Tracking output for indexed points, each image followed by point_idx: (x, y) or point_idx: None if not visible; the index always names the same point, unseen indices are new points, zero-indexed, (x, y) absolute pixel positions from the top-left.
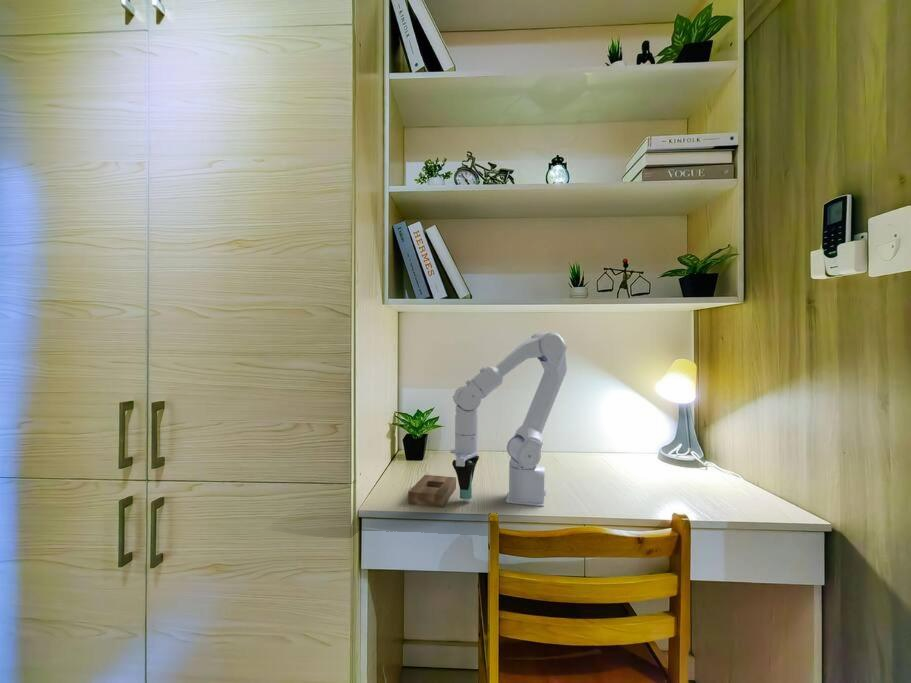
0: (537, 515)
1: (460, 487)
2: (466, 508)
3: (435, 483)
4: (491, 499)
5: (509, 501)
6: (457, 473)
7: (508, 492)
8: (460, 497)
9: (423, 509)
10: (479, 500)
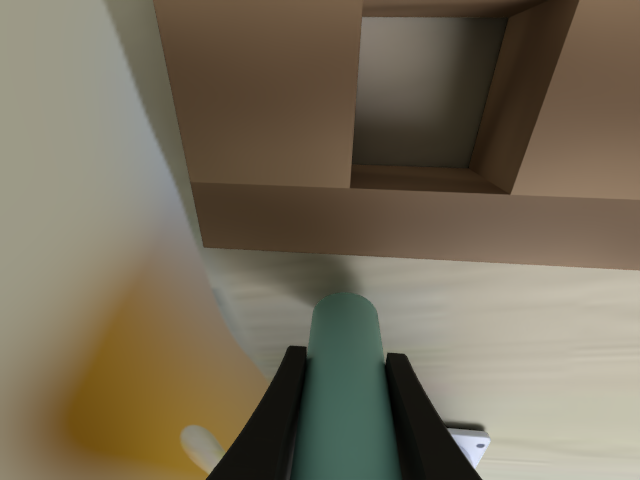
0: None
1: (285, 358)
2: (275, 309)
3: (530, 100)
4: None
5: None
6: (213, 475)
7: (467, 436)
8: (324, 301)
9: (170, 96)
10: (384, 346)
